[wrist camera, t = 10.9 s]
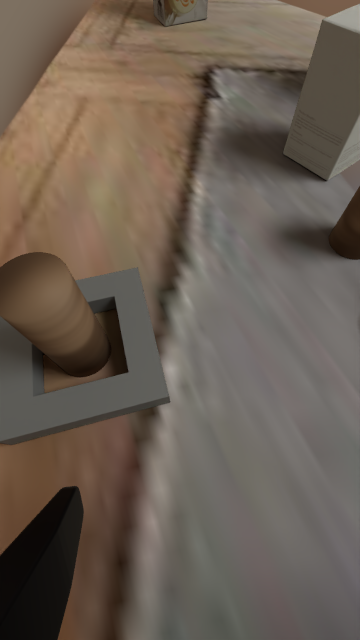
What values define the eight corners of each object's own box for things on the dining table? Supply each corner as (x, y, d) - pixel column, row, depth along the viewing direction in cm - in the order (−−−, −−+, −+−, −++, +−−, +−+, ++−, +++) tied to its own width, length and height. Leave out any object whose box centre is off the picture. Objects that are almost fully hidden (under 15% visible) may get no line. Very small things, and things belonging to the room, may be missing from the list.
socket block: (170, 402, 23) (169, 396, 21) (11, 444, 21) (-5, 442, 19) (140, 280, 28) (137, 267, 26) (12, 308, 27) (0, 296, 25)
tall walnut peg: (121, 351, 25) (85, 282, 16) (79, 388, 23) (13, 335, 14) (90, 319, 26) (41, 240, 17) (48, 352, 25) (-28, 284, 16)
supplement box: (364, 158, 36) (443, 20, 25) (326, 183, 34) (394, 43, 23) (317, 132, 39) (371, -4, 28) (279, 153, 37) (321, 16, 26)
